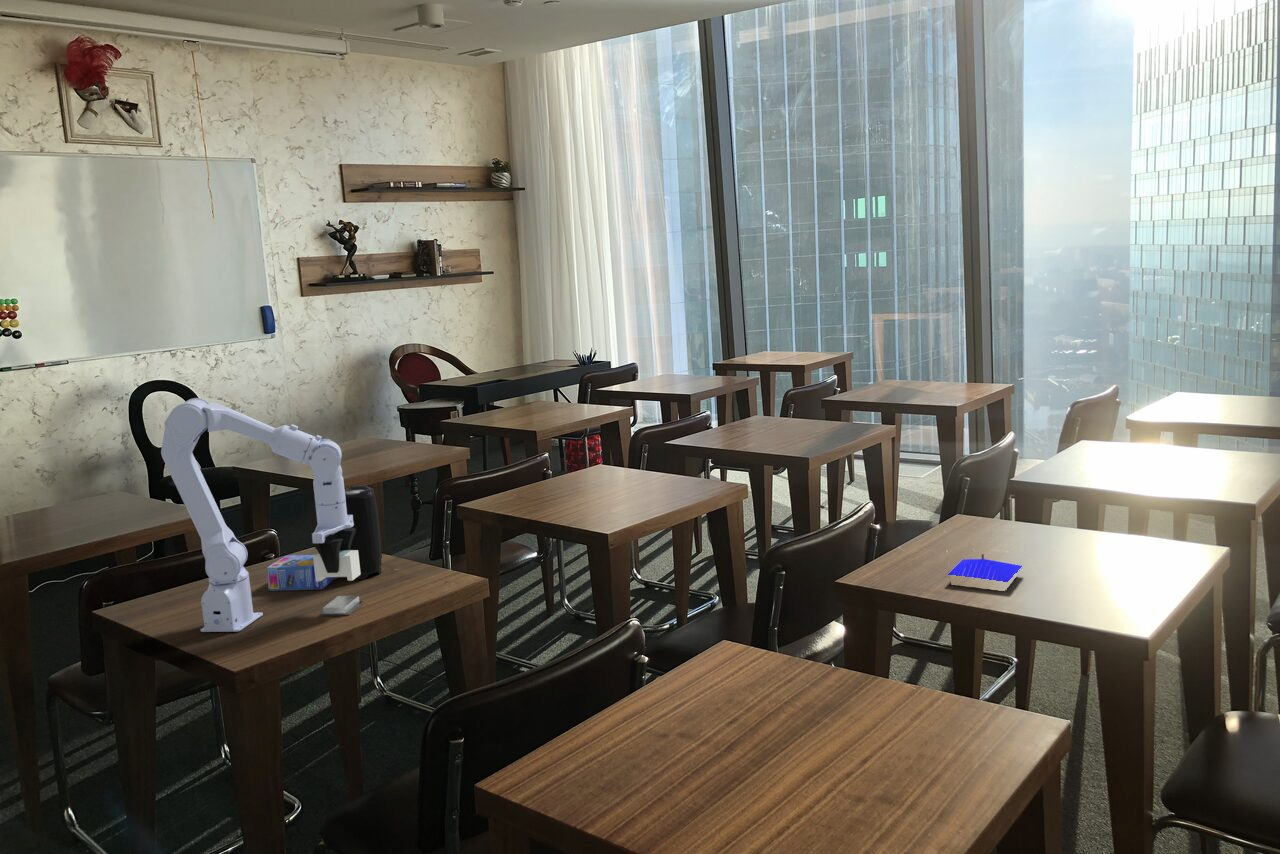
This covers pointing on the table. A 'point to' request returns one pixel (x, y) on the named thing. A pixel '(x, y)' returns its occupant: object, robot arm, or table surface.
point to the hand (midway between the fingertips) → (337, 568)
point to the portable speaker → (365, 528)
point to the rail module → (347, 566)
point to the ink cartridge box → (295, 574)
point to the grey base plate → (342, 606)
